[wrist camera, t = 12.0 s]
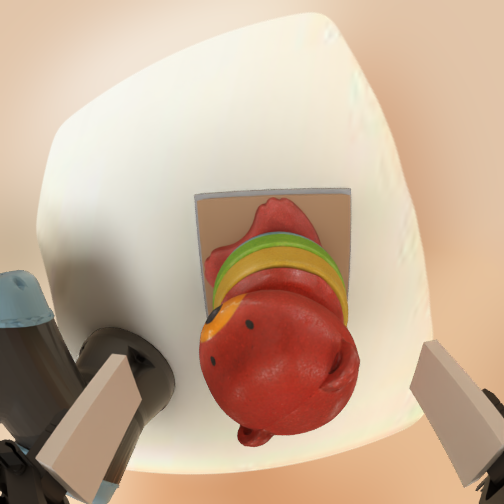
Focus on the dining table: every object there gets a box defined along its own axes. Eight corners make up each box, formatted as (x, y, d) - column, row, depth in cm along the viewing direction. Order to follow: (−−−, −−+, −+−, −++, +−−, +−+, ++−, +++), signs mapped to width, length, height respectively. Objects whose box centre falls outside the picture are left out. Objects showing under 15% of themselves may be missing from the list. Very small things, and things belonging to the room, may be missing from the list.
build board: (209, 314, 32) (201, 332, 28) (197, 194, 29) (185, 196, 25) (343, 309, 31) (353, 326, 27) (347, 188, 28) (360, 189, 24)
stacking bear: (279, 186, 24) (311, 200, 7) (350, 266, 25) (451, 389, 8) (196, 266, 26) (101, 393, 9) (268, 335, 28) (265, 492, 11)
